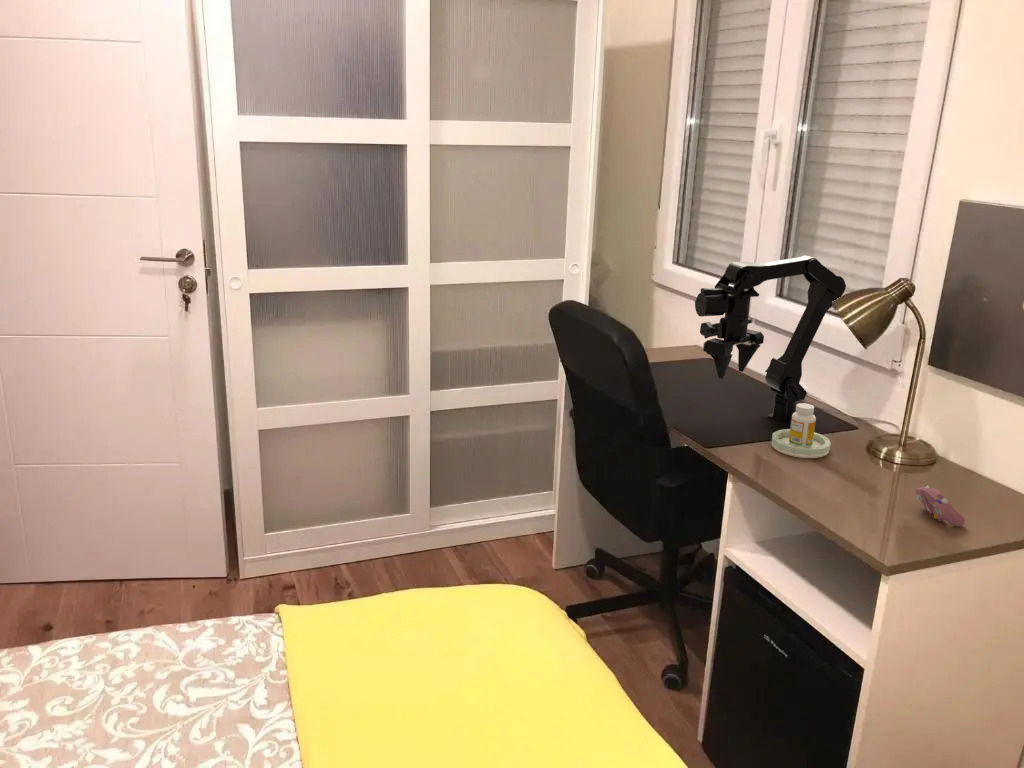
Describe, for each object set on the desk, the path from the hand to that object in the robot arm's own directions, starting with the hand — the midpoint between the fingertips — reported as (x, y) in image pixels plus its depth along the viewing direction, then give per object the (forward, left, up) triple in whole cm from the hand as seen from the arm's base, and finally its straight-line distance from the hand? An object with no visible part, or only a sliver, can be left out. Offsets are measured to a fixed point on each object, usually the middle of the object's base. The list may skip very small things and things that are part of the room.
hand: (730, 374), depth 208 cm
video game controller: (+14, +57, -13) cm, 60 cm away
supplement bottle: (+1, +21, -12) cm, 24 cm away
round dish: (+1, +21, -13) cm, 25 cm away
